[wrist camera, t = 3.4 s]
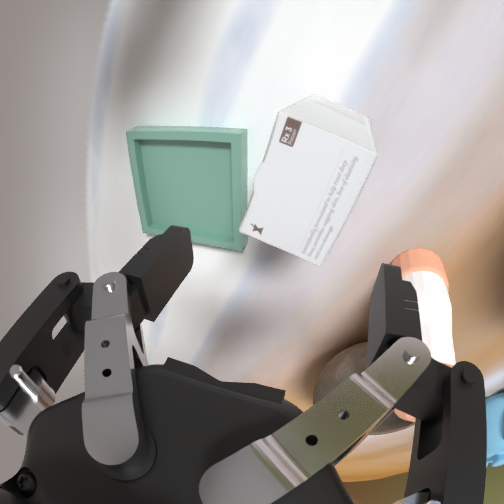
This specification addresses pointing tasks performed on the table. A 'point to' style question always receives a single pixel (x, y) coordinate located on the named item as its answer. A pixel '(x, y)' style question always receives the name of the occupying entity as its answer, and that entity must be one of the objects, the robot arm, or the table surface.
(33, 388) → the robot arm
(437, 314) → the salt shaker
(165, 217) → the tray
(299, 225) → the skincare box
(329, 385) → the bowl
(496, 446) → the teapot
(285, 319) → the table surface
